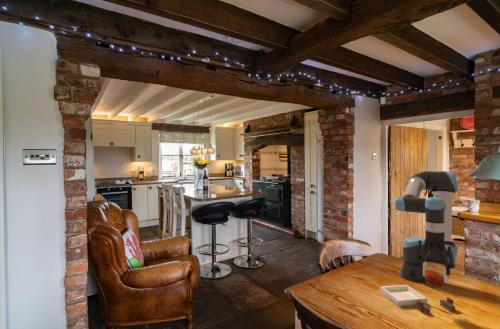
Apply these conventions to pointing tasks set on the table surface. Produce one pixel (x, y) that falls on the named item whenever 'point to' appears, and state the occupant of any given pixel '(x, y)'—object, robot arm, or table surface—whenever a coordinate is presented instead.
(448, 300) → the block
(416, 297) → the dish
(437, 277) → the fruit
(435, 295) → the table surface
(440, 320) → the table surface
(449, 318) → the table surface
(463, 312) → the table surface
